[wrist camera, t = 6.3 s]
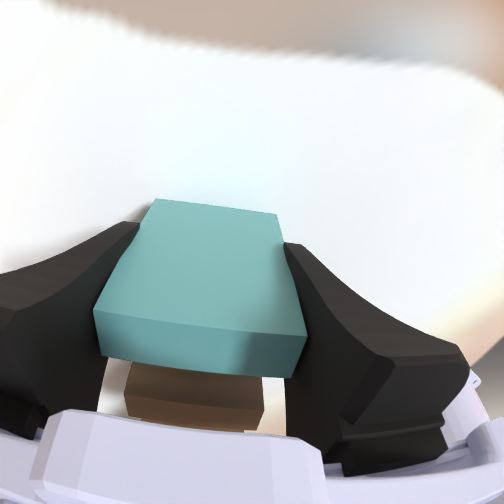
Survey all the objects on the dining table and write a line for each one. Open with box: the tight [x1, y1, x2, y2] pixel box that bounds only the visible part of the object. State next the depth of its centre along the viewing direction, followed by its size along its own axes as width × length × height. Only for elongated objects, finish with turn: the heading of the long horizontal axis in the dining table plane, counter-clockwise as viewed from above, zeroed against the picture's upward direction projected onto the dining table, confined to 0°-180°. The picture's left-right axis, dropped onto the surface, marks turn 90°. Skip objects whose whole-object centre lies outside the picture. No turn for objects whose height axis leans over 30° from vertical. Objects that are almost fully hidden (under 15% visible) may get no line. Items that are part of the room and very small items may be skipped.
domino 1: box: [93, 199, 308, 378], centre depth 10 cm, size 2×5×7 cm, turn 80°
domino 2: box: [124, 361, 264, 431], centre depth 14 cm, size 2×5×7 cm, turn 80°
